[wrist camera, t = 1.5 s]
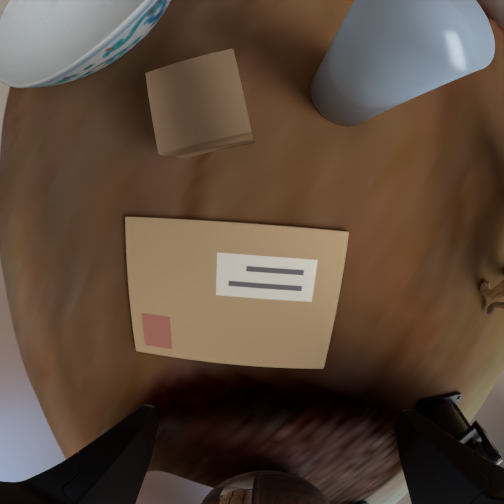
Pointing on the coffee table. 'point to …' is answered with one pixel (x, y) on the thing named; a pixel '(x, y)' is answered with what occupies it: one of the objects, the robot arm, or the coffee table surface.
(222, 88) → the walnut block
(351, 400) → the coffee table surface
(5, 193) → the coffee table surface
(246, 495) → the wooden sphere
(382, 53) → the grey cylinder
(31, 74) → the chinaware
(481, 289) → the lion figurine
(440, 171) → the coffee table surface
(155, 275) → the envelope
